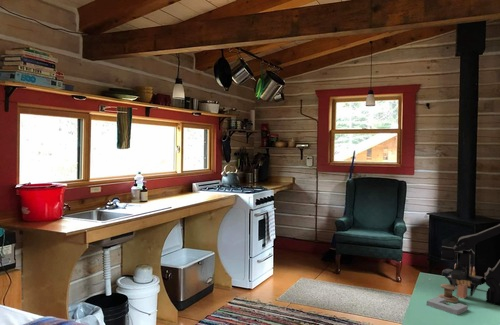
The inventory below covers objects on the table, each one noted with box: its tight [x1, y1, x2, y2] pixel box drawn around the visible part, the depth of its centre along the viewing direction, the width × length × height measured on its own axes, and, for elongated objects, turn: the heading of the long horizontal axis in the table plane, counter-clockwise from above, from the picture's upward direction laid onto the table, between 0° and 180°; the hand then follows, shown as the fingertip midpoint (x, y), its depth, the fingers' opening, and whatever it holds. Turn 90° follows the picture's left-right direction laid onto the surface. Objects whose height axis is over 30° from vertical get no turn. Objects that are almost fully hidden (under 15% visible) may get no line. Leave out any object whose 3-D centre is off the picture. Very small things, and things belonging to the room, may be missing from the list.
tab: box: [456, 284, 468, 299], centre depth 204 cm, size 3×4×6 cm
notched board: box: [426, 296, 469, 316], centre depth 189 cm, size 14×10×2 cm
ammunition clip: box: [453, 262, 476, 290], centre depth 220 cm, size 11×2×12 cm, turn 52°
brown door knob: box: [437, 283, 459, 304], centre depth 199 cm, size 9×9×6 cm
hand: (462, 293), depth 204 cm, fingers open, 8 cm apart
